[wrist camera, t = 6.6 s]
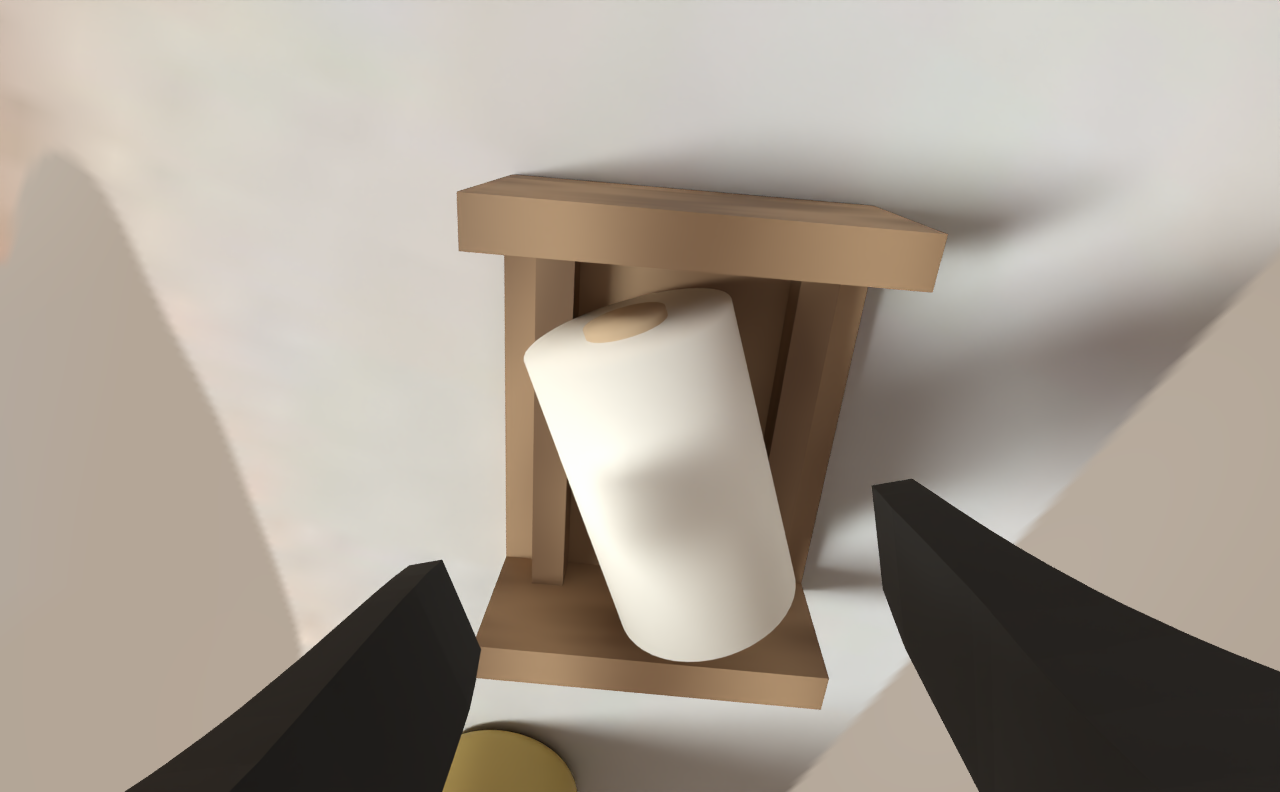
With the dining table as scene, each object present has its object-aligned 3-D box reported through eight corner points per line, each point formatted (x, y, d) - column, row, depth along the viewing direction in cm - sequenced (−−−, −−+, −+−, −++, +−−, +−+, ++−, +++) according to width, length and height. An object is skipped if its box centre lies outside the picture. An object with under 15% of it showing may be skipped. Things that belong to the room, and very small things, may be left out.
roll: (705, 268, 17) (756, 311, 12) (766, 522, 20) (825, 633, 15) (527, 322, 17) (511, 385, 12) (616, 567, 20) (629, 691, 15)
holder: (873, 205, 17) (947, 233, 13) (789, 591, 23) (820, 709, 18) (512, 174, 17) (456, 191, 13) (513, 566, 23) (473, 677, 18)
